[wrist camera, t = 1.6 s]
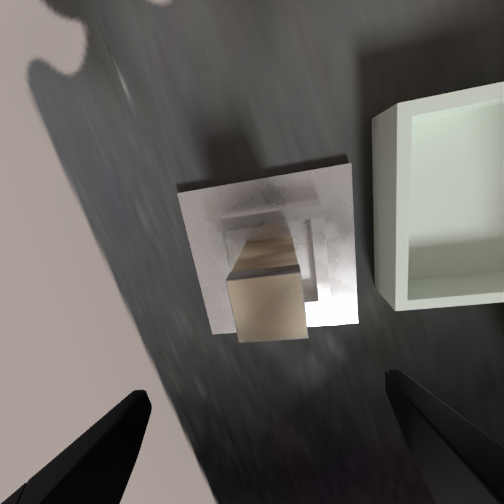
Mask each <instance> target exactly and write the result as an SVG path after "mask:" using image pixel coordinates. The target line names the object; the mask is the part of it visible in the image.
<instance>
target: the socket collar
mask: <svg viewBox="0 0 504 504" xmlns="http://www.w3.org/2000/svg"><path fill="white" fill-rule="evenodd" d="M177 195H178V199H179V203H180V207H181V211H182V215H183V219H184V223H185V227H186V231H187V235H188V239H189V243H190V247H191V251H192V255H193V259H194V263H195V267H196V270H197V274H198V278H199V282H200V286H201V290H202V294H203V298H204V302H205V306H206V310H207V314H208V318H209V322H210V326H211V330H212V334H222V333H235V332H236V327H235V322H234V318H233V313H232V309H231V304H230V299H229V295H228V290H227V285H226V279H227V277H228V275H229V273H230V272H231V271H232V269H233V267H234V265H235V263H236V261H237V259H238V257H239V255H240V253H241V251H242V249H243V247H244V245H245V243H246V242H252V241H260V240H267V239H275V238H282V237H289V236H292V238H293V243H294V248H295V252H296V257H297V261H298V264H299V266H300V270H301V277H302V286H303V295H304V303H305V312H306V321H307V327H313V326H326V325H339V324H352V323H358V308H357V284H356V261H355V237H354V214H353V190H352V167H351V163H348V164H342V165H336V166H331V167H325V168H319V169H313V170H308V171H302V172H296V173H290V174H285V175H279V176H273V177H267V178H262V179H256V180H250V181H244V182H239V183H233V184H227V185H222V186H216V187H210V188H204V189H199V190H193V191H187V192H181V193H177Z"/></svg>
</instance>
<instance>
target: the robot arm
mask: <svg viewBox="0 0 504 504" xmlns="http://www.w3.org/2000/svg"><path fill="white" fill-rule="evenodd" d="M385 389H386V393H387V396H388V399H389V401H390V404H391V406H392V409H393V411H394V414H395V416H396V419H397V421H398V424H399V426H400V429H401V431H402V433H403V436H404V438H405V441H406V443H407V446H408V448H409V450H410V452H411V454H412V456H413V458H414V460H415V462H416V464H417V466H418V468H419V470H420V472H421V474H422V475H423V477H424V479H425V481H426V483H427V485H428V487H429V489H430V491H431V493H432V495H433V497H434V499H435V501H436V503H437V504H504V447H502V446H501V445H500V444H498V443H497V442H496V441H494V440H493V439H492V438H490V437H489V436H488V435H486V434H485V433H484V432H482V431H481V430H480V429H478V428H477V427H476V426H474V425H473V424H472V423H470V422H469V421H468V420H466V419H465V418H464V417H462V416H461V415H460V414H458V413H457V412H456V411H454V410H453V409H452V408H450V407H449V406H447V405H446V404H445V403H443V402H442V401H441V400H439V399H438V398H437V397H435V396H434V395H433V394H431V393H430V392H429V391H427V390H426V389H425V388H423V387H422V386H421V385H419V384H418V383H417V382H415V381H414V380H413V379H411V378H410V377H409V376H407V375H406V374H405V373H403V372H402V371H401V370H399V369H390V370H386V371H385ZM151 409H152V406H151V403H150V400H149V398H148V395H147V393H146V391H145V390H135V391H133V392H132V393H130V394H129V395H128V396H127V397H126V398H124V399H123V400H122V401H121V402H120V403H119V404H117V405H116V406H115V407H114V408H113V409H112V410H110V411H109V412H108V413H107V414H106V415H104V416H103V417H102V418H101V419H100V420H99V421H97V422H96V423H95V424H94V425H93V426H92V427H90V428H89V429H88V430H87V431H86V432H85V433H83V434H82V435H81V436H80V437H79V438H78V439H76V440H75V441H74V442H73V443H72V444H71V445H69V446H68V447H67V448H66V449H65V450H63V452H61V453H60V454H59V455H58V456H56V457H55V458H54V459H53V460H52V461H51V462H49V463H48V464H47V465H46V466H45V467H44V468H42V469H41V470H40V471H39V472H38V473H37V474H35V475H34V476H33V477H32V478H31V479H29V481H28V482H27V483H25V484H24V485H22V486H21V487H20V488H19V489H18V490H17V491H16V492H14V493H13V494H12V495H11V496H10V497H8V498H7V499H6V500H5V501H3V502H2V503H1V504H119V503H120V501H121V499H122V496H123V493H124V491H125V488H126V486H127V483H128V480H129V478H130V475H131V473H132V470H133V468H134V465H135V462H136V460H137V457H138V454H139V450H140V447H141V444H142V441H143V437H144V434H145V431H146V427H147V424H148V420H149V417H150V414H151Z"/></svg>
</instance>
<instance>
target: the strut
mask: <svg viewBox="0 0 504 504" xmlns="http://www.w3.org/2000/svg"><path fill="white" fill-rule="evenodd" d="M226 285H227V290H228V295H229V299H230V304H231V309H232V313H233V318H234V322H235V327H236V332H237V336H238V341H239V343H246V342H260V341H275V340H289V339H303V338H308V329H307V321H306V312H305V303H304V295H303V286H302V277H301V270H300V266H299V264H298V261H297V257H296V252H295V248H294V243H293V238H292V236H289V237H282V238H275V239H267V240H260V241H252V242H246V243H245V245H244V247H243V249H242V251H241V253H240V255H239V257H238V259H237V261H236V263H235V265H234V267H233V269H232V271H231V272H230V273H229V275H228V277H227V279H226Z"/></svg>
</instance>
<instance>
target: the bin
mask: <svg viewBox="0 0 504 504" xmlns="http://www.w3.org/2000/svg"><path fill="white" fill-rule="evenodd" d="M372 169H373V224H374V278H375V288H376V289H377V290H378V291H379V292H380V294H381V295H382V296H383V297H384V298H385V300H386V301H387V302H388V303H389V304H390V305H391V307H392V308H393V309H394V310H395V311H403V310H415V309H427V308H439V307H451V306H463V305H475V304H488V303H500V302H504V82H499V83H494V84H489V85H484V86H479V87H474V88H470V89H465V90H460V91H455V92H450V93H445V94H440V95H435V96H430V97H426V98H421V99H416V100H411V101H406V102H401V103H397V104H395V105H394V106H392V107H390V108H389V109H387V110H385V111H384V112H382V113H380V114H379V115H377V116H375V117H374V118H372Z"/></svg>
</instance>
